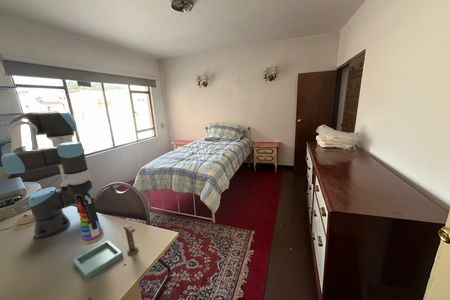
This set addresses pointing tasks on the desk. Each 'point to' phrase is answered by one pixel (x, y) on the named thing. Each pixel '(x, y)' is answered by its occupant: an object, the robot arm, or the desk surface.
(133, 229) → the tan tall figure
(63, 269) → the desk surface
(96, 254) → the tray
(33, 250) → the desk surface
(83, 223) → the stacking toy
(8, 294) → the desk surface
